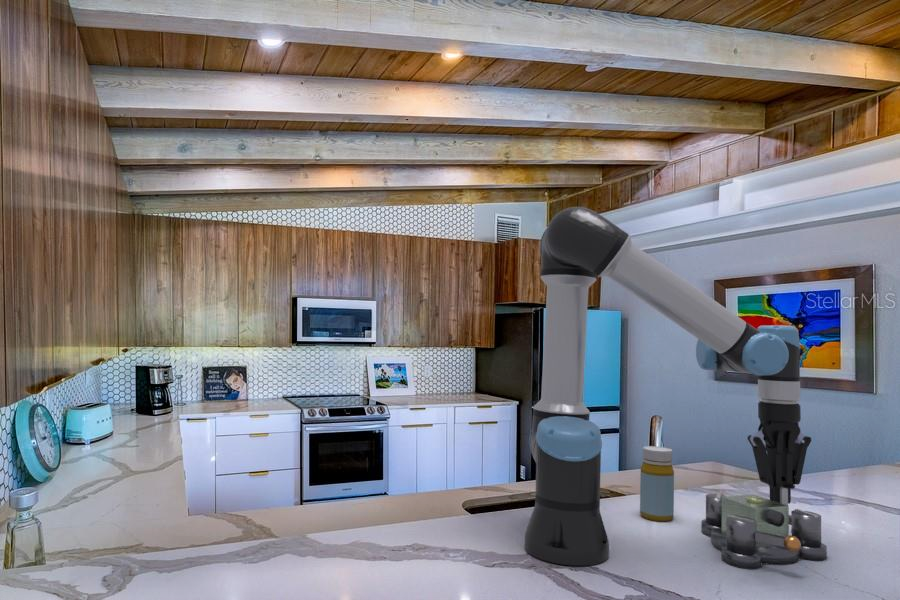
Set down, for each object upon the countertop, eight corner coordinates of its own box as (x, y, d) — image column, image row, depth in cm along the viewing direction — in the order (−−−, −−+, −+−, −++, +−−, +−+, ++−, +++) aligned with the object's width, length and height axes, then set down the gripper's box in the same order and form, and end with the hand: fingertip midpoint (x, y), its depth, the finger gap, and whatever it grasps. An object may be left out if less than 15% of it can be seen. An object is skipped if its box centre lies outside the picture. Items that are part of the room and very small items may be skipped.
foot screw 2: (722, 549, 105) (723, 517, 105) (730, 542, 108) (730, 512, 109) (797, 567, 97) (797, 533, 97) (803, 560, 101) (803, 527, 101)
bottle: (676, 523, 126) (676, 452, 127) (641, 520, 127) (643, 450, 128) (670, 514, 133) (671, 447, 134) (638, 511, 134) (639, 444, 135)
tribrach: (741, 570, 101) (741, 513, 101) (663, 532, 120) (664, 484, 120) (834, 559, 108) (834, 505, 109) (747, 525, 127) (747, 479, 127)
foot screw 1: (731, 528, 117) (731, 500, 117) (705, 524, 119) (705, 496, 119) (731, 513, 128) (731, 487, 128) (707, 509, 130) (707, 484, 130)
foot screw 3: (827, 546, 108) (827, 515, 109) (807, 547, 107) (807, 516, 107) (776, 525, 120) (776, 498, 120) (757, 527, 118) (757, 499, 119)
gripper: (793, 399, 124) (795, 513, 123) (738, 399, 122) (739, 515, 121) (821, 403, 117) (823, 524, 115) (763, 403, 115) (764, 526, 113)
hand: (780, 519), depth 118 cm, fingers closed
